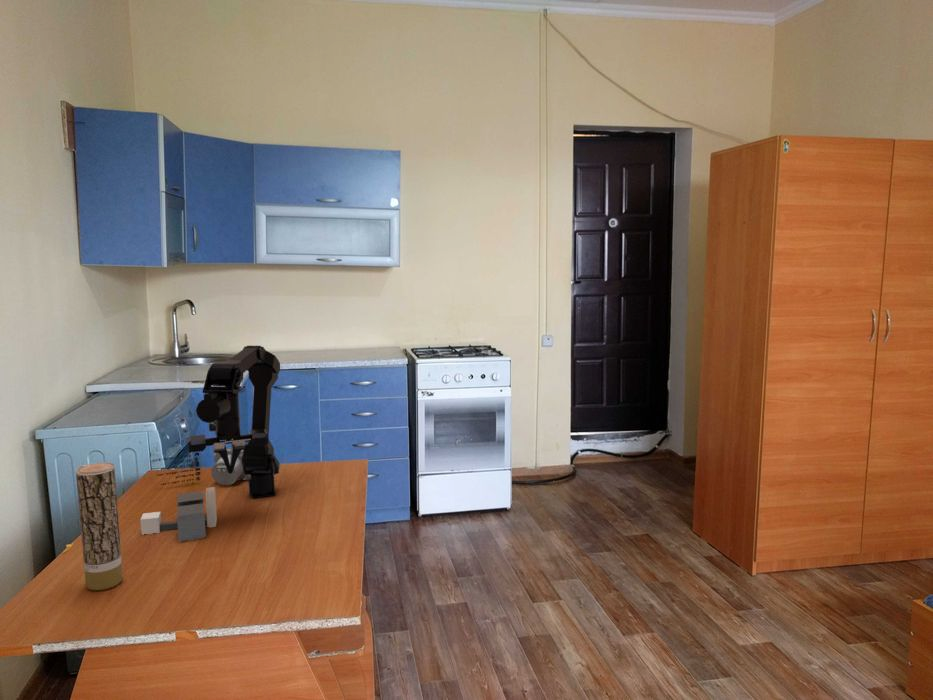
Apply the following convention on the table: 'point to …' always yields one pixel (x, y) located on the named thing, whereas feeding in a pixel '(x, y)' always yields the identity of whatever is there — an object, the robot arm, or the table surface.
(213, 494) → the grey rod with blocks
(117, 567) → the wooden log
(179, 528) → the block
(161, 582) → the table surface
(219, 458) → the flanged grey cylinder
